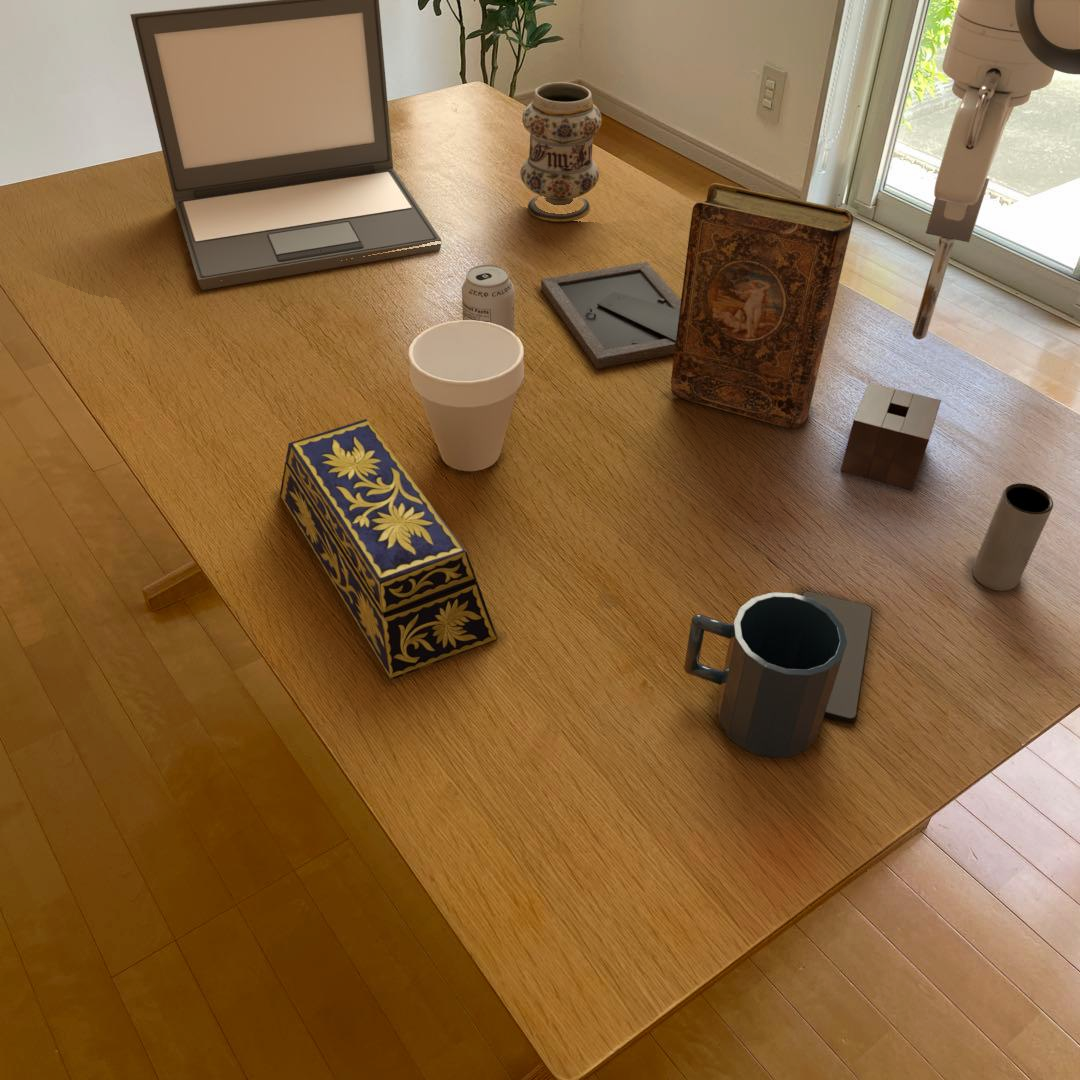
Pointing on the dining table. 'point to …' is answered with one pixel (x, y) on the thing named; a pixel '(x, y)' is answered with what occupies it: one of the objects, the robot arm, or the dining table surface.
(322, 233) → the laptop
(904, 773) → the dining table surface
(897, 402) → the utensil block
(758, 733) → the grey coffee mug
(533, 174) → the apothecary jar
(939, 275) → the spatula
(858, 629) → the smartphone
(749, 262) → the book
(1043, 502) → the grey hollow cylinder
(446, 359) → the cup
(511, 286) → the energy drink can
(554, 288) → the picture frame
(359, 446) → the decorative box
